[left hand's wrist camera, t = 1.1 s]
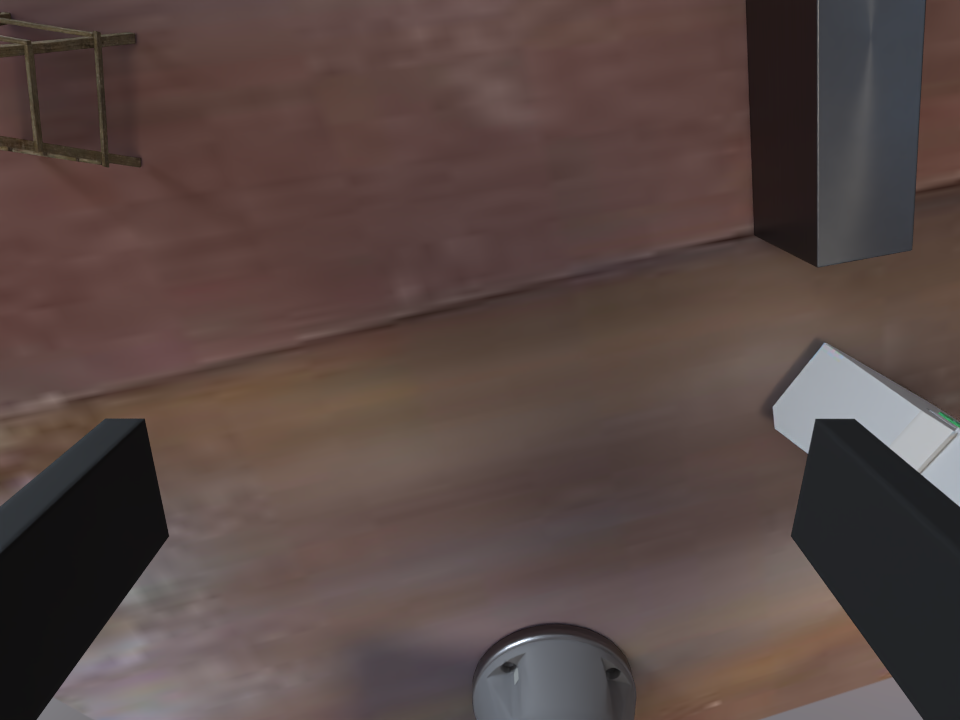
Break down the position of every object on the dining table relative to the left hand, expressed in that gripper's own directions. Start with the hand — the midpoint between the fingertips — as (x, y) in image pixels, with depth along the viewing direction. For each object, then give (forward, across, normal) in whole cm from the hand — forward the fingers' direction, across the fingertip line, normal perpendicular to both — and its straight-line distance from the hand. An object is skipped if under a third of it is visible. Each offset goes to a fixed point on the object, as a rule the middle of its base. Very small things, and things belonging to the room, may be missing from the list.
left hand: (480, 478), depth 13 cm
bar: (+35, -20, -10) cm, 42 cm away
